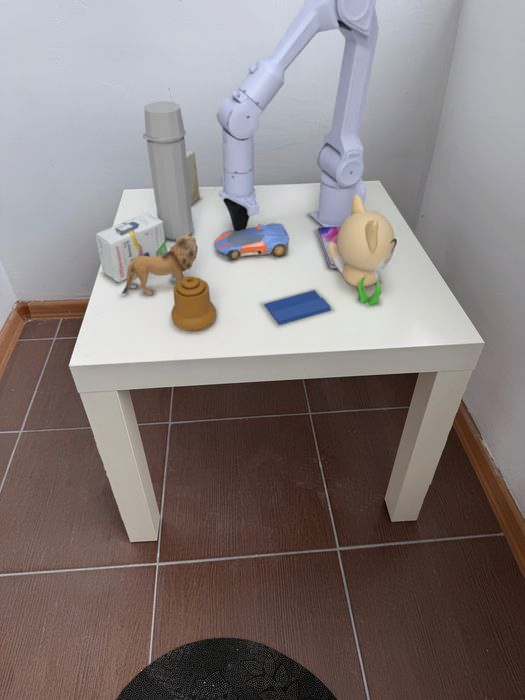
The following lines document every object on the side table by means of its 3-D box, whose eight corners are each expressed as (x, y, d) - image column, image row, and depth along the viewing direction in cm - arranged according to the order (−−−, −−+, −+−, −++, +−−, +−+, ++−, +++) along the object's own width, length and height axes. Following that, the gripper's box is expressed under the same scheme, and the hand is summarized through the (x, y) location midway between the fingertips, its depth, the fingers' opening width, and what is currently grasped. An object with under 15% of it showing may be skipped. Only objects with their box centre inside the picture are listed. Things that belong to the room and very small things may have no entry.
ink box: (148, 211, 96) (92, 232, 90) (164, 221, 94) (108, 243, 87) (153, 250, 102) (101, 272, 96) (169, 260, 100) (117, 284, 93)
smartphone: (330, 266, 97) (316, 227, 108) (329, 269, 97) (316, 230, 108) (367, 263, 97) (349, 225, 108) (366, 267, 98) (349, 228, 109)
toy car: (212, 242, 104) (210, 219, 101) (282, 235, 107) (283, 212, 103) (217, 263, 99) (215, 239, 95) (291, 256, 101) (293, 232, 97)
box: (200, 198, 119) (196, 151, 112) (190, 206, 116) (186, 158, 109) (181, 194, 121) (176, 147, 113) (171, 201, 118) (165, 154, 110)
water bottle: (200, 236, 106) (189, 110, 89) (164, 245, 103) (146, 116, 86) (185, 217, 112) (172, 95, 95) (151, 225, 109) (131, 101, 92)
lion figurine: (195, 269, 97) (190, 227, 91) (205, 284, 94) (201, 241, 88) (119, 288, 92) (109, 245, 86) (126, 304, 89) (117, 261, 83)
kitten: (401, 303, 90) (419, 227, 80) (346, 309, 88) (358, 232, 78) (372, 258, 101) (385, 186, 90) (323, 263, 99) (331, 190, 89)
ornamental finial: (211, 302, 89) (220, 329, 84) (169, 309, 88) (175, 336, 83) (208, 264, 84) (217, 290, 79) (163, 270, 83) (169, 297, 77)
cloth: (314, 291, 92) (314, 288, 92) (330, 310, 88) (331, 307, 88) (264, 305, 89) (264, 302, 89) (279, 325, 85) (279, 322, 85)
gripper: (205, 157, 99) (209, 220, 108) (233, 186, 90) (235, 253, 99) (238, 151, 101) (240, 213, 111) (269, 180, 92) (268, 245, 101)
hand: (240, 232), depth 105 cm, fingers closed
